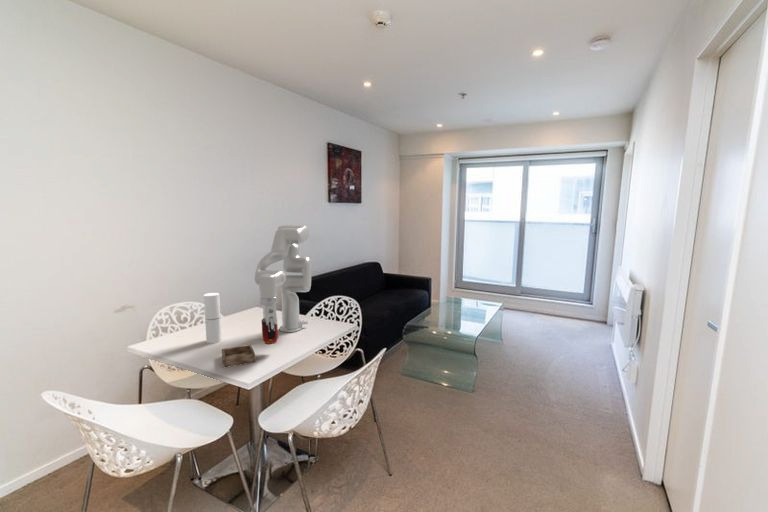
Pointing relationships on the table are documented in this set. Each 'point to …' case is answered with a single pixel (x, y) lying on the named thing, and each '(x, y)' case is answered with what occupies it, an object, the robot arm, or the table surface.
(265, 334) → the soda can
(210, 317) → the cylindrical container
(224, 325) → the table surface
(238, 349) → the tray
